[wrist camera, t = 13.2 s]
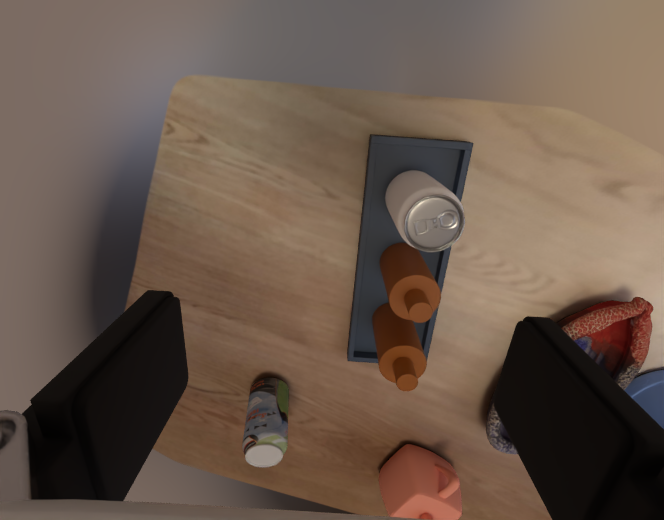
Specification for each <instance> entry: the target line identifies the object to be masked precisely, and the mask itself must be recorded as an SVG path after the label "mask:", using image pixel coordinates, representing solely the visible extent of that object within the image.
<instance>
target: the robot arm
mask: <svg viewBox="0 0 664 520" xmlns="http://www.w3.org/2000/svg"><path fill="white" fill-rule="evenodd" d="M187 382H188V368H187V359H186V350H185V342H184V333H183V324H182V315H181V307H180V300H179V298H177V297H174V295H173V294H172V292H169V291H154V290H148V291H147V292H145V293H144V294H143V295H142V296H141V297H140V298H139V299H138V300H137V301H136V302H135V303H134V304H133V305H131V306H130V307H129V308H128V309H127V310H126V311H125V312H124V313H123V314H122V315H121V316H120V317H119V318H118V319H116V320H115V321H114V322H113V323H112V324H111V325H110V326H109V327H108V328H107V329H106V330H105V331H104V332H103V333H101V335H100V336H98V337H97V338H96V339H95V340H94V341H93V342H92V343H91V344H90V345H89V346H88V347H87V348H85V349H84V350H83V351H82V352H81V353H80V354H79V355H78V356H77V357H76V358H75V359H74V360H73V361H72V362H70V363H69V364H68V365H67V366H66V367H65V368H64V369H63V370H62V371H61V372H60V373H59V374H58V375H57V376H56V377H54V378H53V379H52V380H51V381H50V382H49V383H48V384H47V385H46V386H45V387H44V388H43V389H42V390H41V391H39V393H37V394H36V395H35V396H34V397H33V398H32V399H31V400H30V401H31V404H32V405H31V406H30V407H29V408H28V409H27V410H25V411H24V413H22V414H20V413H18V412H15V411H8V410H4V411H0V520H430V519H415V518H400V517H385V516H369V515H354V514H338V513H322V512H306V511H291V510H274V509H257V508H240V507H223V506H206V505H188V504H171V503H152V502H151V503H149V502H128V501H123V500H124V499H125V497H126V495H127V493H128V491H129V490H130V488H131V486H132V484H133V482H134V480H135V479H136V477H137V475H138V473H139V472H140V470H141V468H142V466H143V464H144V462H145V461H146V459H147V457H148V455H149V453H150V452H151V450H152V448H153V446H154V444H155V443H156V441H157V439H158V437H159V435H160V434H161V432H162V430H163V428H164V426H165V425H166V423H167V421H168V419H169V417H170V416H171V414H172V412H173V410H174V408H175V407H176V405H177V403H178V401H179V399H180V398H181V396H182V394H183V392H184V390H185V388H186V386H187ZM493 402H494V408H495V410H496V412H497V414H498V416H499V418H500V420H501V422H502V424H503V426H504V427H505V429H506V431H507V433H508V435H509V437H510V439H511V441H512V443H513V445H514V447H515V449H516V451H517V452H518V454H519V456H520V458H521V460H522V462H523V464H524V466H525V468H526V470H527V472H528V474H529V476H530V477H531V479H532V481H533V483H534V485H535V487H536V489H537V491H538V493H539V495H540V497H541V499H542V501H543V502H544V504H545V506H546V508H547V510H548V512H549V514H550V516H551V518H552V520H664V429H663V428H662V427H661V426H660V425H659V424H658V423H657V422H656V421H655V420H654V419H653V418H652V417H651V416H650V415H649V414H648V413H647V412H646V411H645V410H644V409H643V408H642V407H641V406H640V405H639V404H638V403H637V402H636V401H635V400H634V399H632V398H631V397H630V396H629V395H628V394H627V393H626V392H625V391H624V390H623V389H622V388H621V387H620V386H619V385H618V384H617V383H616V382H615V381H614V380H613V379H612V378H611V377H610V376H609V375H608V374H607V373H606V372H605V371H604V370H603V369H602V368H601V367H600V366H599V365H598V364H597V363H596V362H595V361H594V360H593V359H592V358H591V357H590V356H589V355H588V354H587V353H586V352H585V351H584V350H583V349H582V348H581V347H580V346H579V345H578V344H577V343H576V342H575V341H574V340H572V339H571V338H570V337H569V336H568V335H567V334H566V333H565V332H564V331H563V330H562V329H561V328H560V327H559V326H558V325H557V324H556V323H555V322H554V321H553V320H552V319H550V318H543V317H529V316H528V317H525V318H524V319H523V321H520V322H518V323H517V325H516V328H515V331H514V334H513V337H512V340H511V343H510V346H509V349H508V353H507V356H506V359H505V362H504V365H503V368H502V371H501V374H500V378H499V381H498V384H497V387H496V390H495V393H494V397H493Z"/></svg>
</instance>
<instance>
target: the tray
mask: <svg viewBox="0 0 664 520" xmlns="http://www.w3.org/2000/svg"><path fill="white" fill-rule="evenodd" d="M472 147H473V143H471V142H466V141H453V140H439V139H426V138H412V137H399V136H385V135H372V134H371V135H370V140H369V150H368V159H367V169H366V179H365V188H364V198H363V207H362V217H361V226H360V236H359V245H358V255H357V264H356V274H355V284H354V293H353V303H352V312H351V322H350V331H349V341H348V350H347V358H348V361H355V362H369V363H378V357H377V350H376V344H375V337H374V331H373V324H372V316H373V314H374V312H375V310H376V309H377V308H378V307H380V306H381V305H383V304H386V303H389V300H388V296H387V292H386V288H385V284H384V280H383V277H382V273H381V269H380V258H381V255H382V253H383V252H384V251H385V250H386V249H387V248H388V247H389V246H391V245H393V244H396V243H406V242H405V241H404V239H403V238H402V237H401V235H400V233H399V232H398V230H397V228H396V226H395V223H394V221H393V219H392V217H391V215H390V213H389V211H388V209H387V206H386V201H385V195H386V190H387V188H388V186H389V184H390V182H391V181H392V180H393V179H394V178H395V177H396V176H397V175H399V174H401V173H403V172H406V171H410V170H417V171H421V172H424V173H426V174H428V175H429V176H431V177H432V178H434V179H435V180H436V181H438V182H439V183H440V184H442V185H443V186H445V187H446V188H447V189H449V190H450V191H451V192H452V193H453V194H455V195H456V197H457V198H458V199H459V201H460V202H461V199H462V194H463V189H464V185H465V180H466V175H467V171H468V166H469V161H470V157H471V152H472ZM417 250H418V249H417ZM450 250H451V246H450V247H449V248H447V249H445V250H442V251H439V252H424V251H421V250H418V251H419V252H420V254H421V256H422V258H423V260H424V261H425V263H426V265H427V267H428V268H429V270H430V272H431V274H432V276H433V277H434V279H435V281H436V283H437V284H438V286H439V288H440V292H442V287H443V283H444V278H445V273H446V269H447V264H448V259H449V255H450ZM438 306H439V305H438ZM437 311H438V307H437V309H436V310H435V311H434V312H433V314H432V316H431V318H430V319H429V320H428V321H426V322H423V323H417V322H414V321H413V323H414V326H415V329H416V332H417V334H418V337H419V340H420V343H421V346H422V349H423V352H424V355H425V357H426V361H427V357H428V353H429V348H430V343H431V339H432V334H433V329H434V325H435V320H436V315H437Z"/></svg>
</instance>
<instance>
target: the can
mask: <svg viewBox="0 0 664 520" xmlns="http://www.w3.org/2000/svg"><path fill="white" fill-rule="evenodd" d="M385 201H386V206H387V209H388V211H389V213H390V215H391V217H392V219H393V221H394V223H395V226H396V228H397V230H398V232H399V233H400V235H401V237H402V238H403V239H404V241H405V242H406V243H408V244H409V245H410V246H412V247H414V248H416V249H418V250H421V251H424V252H439V251H442V250H445V249H447V248H449V247H450V246H452V245H453V244H454V243H455V242H456V241H457V240H458V239H459V237H460V236H461V234H462V232H463V229H464V224H465V217H464V212H463V207H462V205H461V202H460V201H459V199H458V198H457V197H456V195H455V194H453V193H452V192H451V191H450V190H449V189H447V188H446V187H445V186H443V185H442V184H440V183H439V182H438V181H436V180H435V179H434V178H432V177H431V176H429V175H428V174H426V173H424V172H421V171H417V170H410V171H406V172H403V173H401V174H399V175H397V176H396V177H395V178H394V179H393V180H392V181H391V182H390V184H389V186H388V188H387V190H386V195H385Z"/></svg>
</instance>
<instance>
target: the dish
mask: <svg viewBox="0 0 664 520" xmlns="http://www.w3.org/2000/svg"><path fill="white" fill-rule="evenodd" d="M652 311H653V306H652V305H651V304H650V303H649V302H648V301H645V300H644V299H643V298H640V297H635V298H633V300H632V301H631V302H620V301H613V300H611V301H606V302H602V303H598V304H596V305H594V306H592V307H589V308H587V309H585V310H582V311H580V312H578V313H575V314H573V315H571V316H569V317H566V318H564V319H563V320H561V321H559V322H557V323H556V324H557V325H558V326H559V327H560V328H561V329H562V330H563V331H564V332H565V333H566V334H567V335H568V336H569V337H570V338H571V339H572V340H574V341H575V342H576V343H577V344H578V345H579V346H580V347H581V348H582V349H583V350H584V351H585V352H586V353H587V354H588V355H589V356H590V357H591V358H592V359H593V360H594V361H595V362H596V363H597V364H598V365H599V366H600V367H601V368H602V369H603V370H604V371H605V372H606V373H607V374H608V375H609V376H610V377H611V378H612V379H613V380H614V381H615V382H616V383H617V384H618V385H619V386H620V387H621V388H622V389H623V390H625V389H626V387H627V386H628V385H629V384H630V383H631V381H632V380H633V379H634V377H635V376H636V375H637V373H638V372H639V370H640V368H641V367H642V365H643V363H644V361H645V358H646V356H647V353H648V350H649V344H650V336H651V332H652V322H651V317H650V314H651V312H652ZM494 393H495V392H494ZM493 397H494V394H493ZM493 397H492V399H491V402H490V405H489V409H488V412H487V423H486V433H487V437H488V440H489V442H490V444H491V445H492V446H493V447H494V448H495V449H497V450H499V451H501V452H504V453H507V454H518V452H517V451H516V449H515V447H514V445H513V443H512V441H511V439H510V437H509V435H508V433H507V431H506V429H505V427H504V426H503V424H502V422H501V420H500V418H499V416H498V414H497V412H496V410H495V408H494V402H493Z"/></svg>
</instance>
